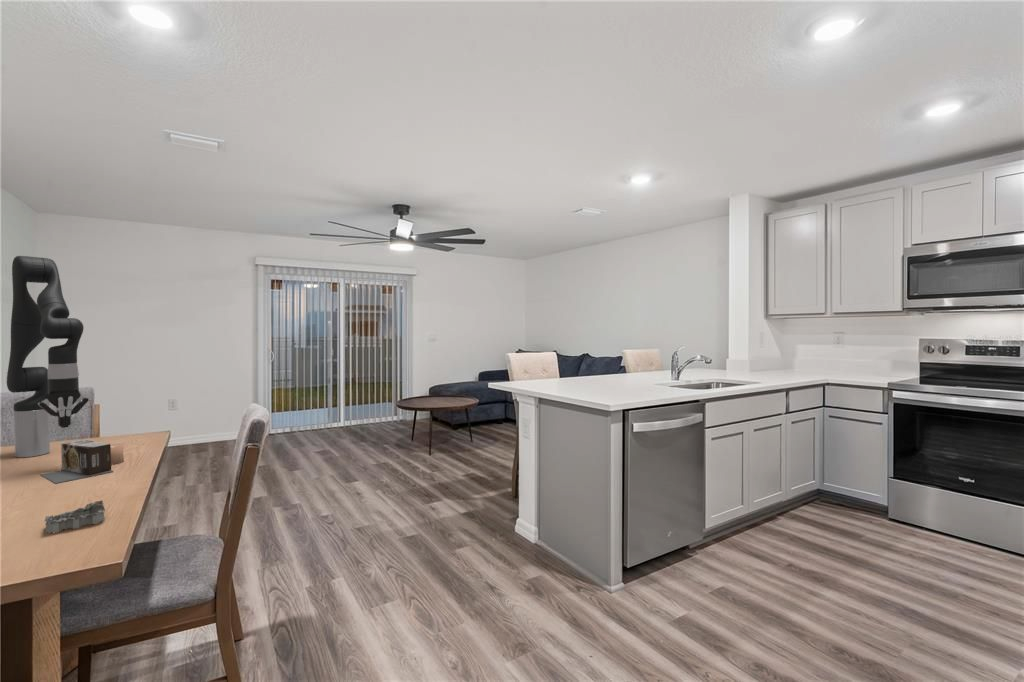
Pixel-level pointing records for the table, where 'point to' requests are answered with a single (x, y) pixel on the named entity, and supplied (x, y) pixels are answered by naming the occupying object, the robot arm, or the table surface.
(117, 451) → the beige short cylinder
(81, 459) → the coffee box
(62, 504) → the table surface
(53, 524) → the ruined stone wall
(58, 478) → the mat
